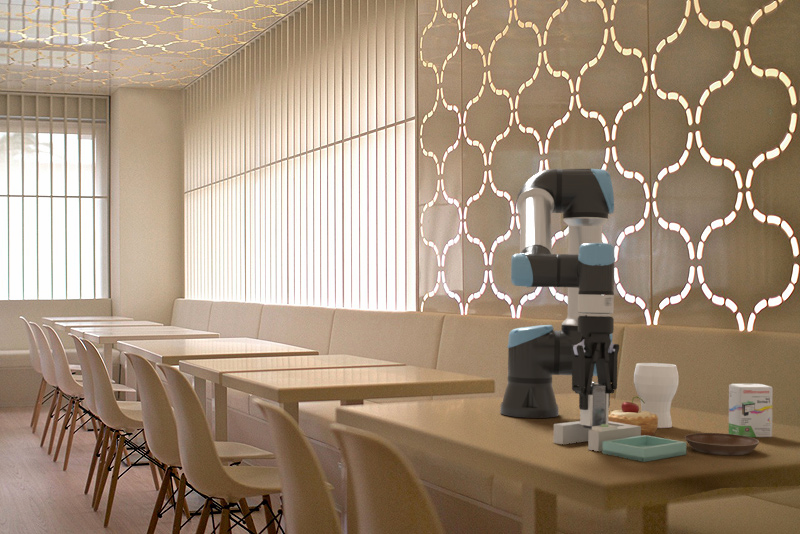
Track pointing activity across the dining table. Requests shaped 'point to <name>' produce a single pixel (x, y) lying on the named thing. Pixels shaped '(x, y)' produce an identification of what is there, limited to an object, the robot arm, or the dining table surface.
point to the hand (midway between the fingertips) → (594, 424)
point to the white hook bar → (593, 433)
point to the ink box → (750, 410)
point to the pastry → (635, 417)
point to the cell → (598, 404)
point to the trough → (644, 448)
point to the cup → (657, 389)
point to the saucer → (721, 443)
